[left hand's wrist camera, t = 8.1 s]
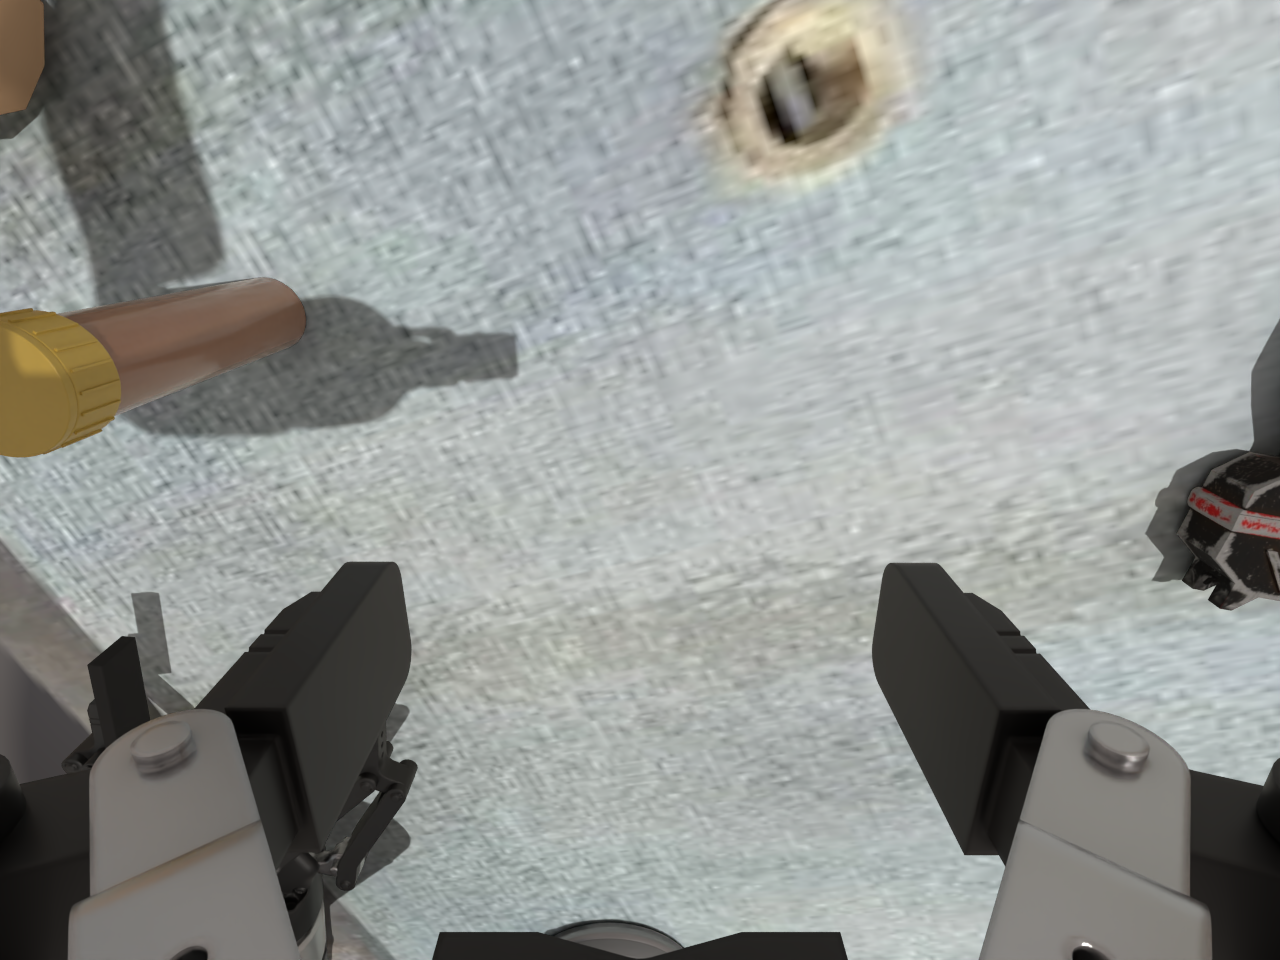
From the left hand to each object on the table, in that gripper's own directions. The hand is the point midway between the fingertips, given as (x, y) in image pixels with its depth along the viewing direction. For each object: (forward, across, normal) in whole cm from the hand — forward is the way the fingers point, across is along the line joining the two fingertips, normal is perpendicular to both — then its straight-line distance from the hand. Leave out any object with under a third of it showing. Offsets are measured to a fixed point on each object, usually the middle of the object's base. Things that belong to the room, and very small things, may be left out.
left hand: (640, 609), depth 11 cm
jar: (+29, +21, -1) cm, 36 cm away
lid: (+12, +21, -1) cm, 24 cm away
